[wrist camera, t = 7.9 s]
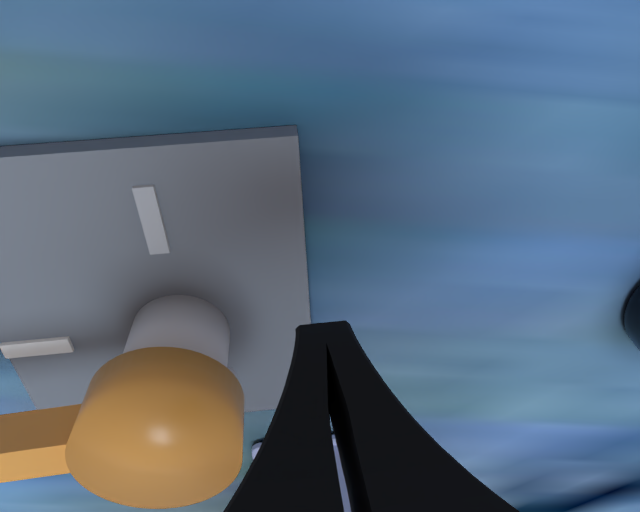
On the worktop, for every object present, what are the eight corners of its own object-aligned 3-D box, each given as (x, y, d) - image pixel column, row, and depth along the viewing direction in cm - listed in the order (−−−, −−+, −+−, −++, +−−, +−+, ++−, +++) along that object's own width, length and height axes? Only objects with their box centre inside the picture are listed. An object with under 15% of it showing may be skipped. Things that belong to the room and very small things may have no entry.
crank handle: (228, 336, 18) (224, 391, 16) (255, 438, 21) (255, 496, 19) (-164, 389, 18) (-223, 453, 15) (-74, 485, 21) (-113, 549, 19)
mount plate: (314, 387, 28) (323, 468, 24) (57, 414, 27) (19, 502, 23) (296, 125, 19) (305, 178, 15) (-77, 151, 19) (-174, 216, 14)
